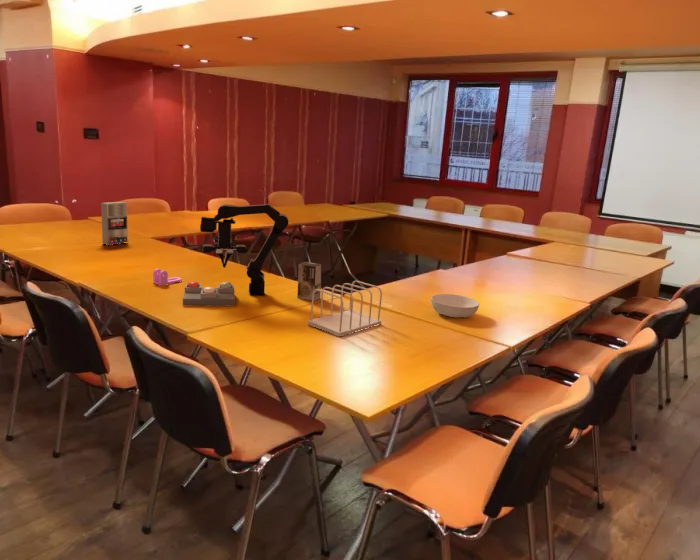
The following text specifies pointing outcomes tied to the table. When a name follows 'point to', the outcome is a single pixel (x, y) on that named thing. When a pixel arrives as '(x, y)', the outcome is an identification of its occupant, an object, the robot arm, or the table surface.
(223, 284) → the sage button
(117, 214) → the cassette tape recorder
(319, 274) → the coffee box
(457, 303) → the serving bowl
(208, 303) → the control panel
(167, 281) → the bracket
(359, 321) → the file sorter
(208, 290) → the cream button
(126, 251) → the table surface
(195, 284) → the red button
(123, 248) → the table surface
